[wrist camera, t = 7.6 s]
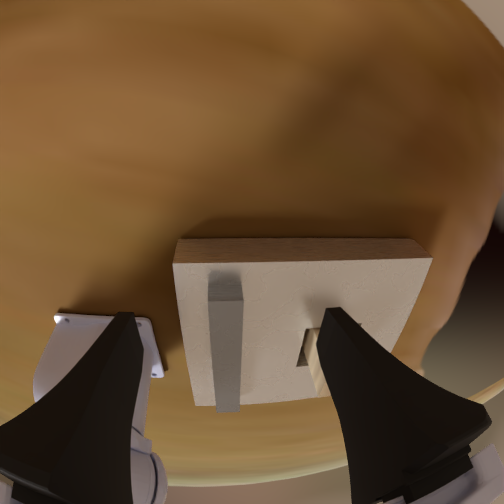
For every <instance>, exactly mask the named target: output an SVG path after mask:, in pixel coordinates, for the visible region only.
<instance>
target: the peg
mask: <svg viewBox="0 0 504 504" xmlns="http://www.w3.org/2000/svg"><path fill="white" fill-rule="evenodd" d="M319 331H320V327H319V328H308V329H305V334H304V338H303V342H302V346H303V349H304V352H305V356H306V359H307V362H308V365H309V369H310V372H311V375H312V378H313V381H314V385H315V388H316V391H317V395H318V398H320V397H326V396H331V393H330V391H329V388H328V385H327V383H326V380H325V377H324V374H323V371H322V369H321V366H320V361H319V357H318V352H317V348H316V341H317V338H318V334H319Z"/></svg>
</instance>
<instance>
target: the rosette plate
mask: <svg viewBox="0 0 504 504" xmlns="http://www.w3.org/2000/svg"><path fill="white" fill-rule="evenodd" d="M432 259H433V257H432V256H431V255H429V254H428V253H427V252H426V251H425V250H424V249H423V248H422V247H421V246H420V245H419V244H418V243H417V242H416V241H415V240H413V239H394V238H214V239H178V242H177V246H176V250H175V255H174V259H173V272H174V280H175V288H176V296H177V303H178V310H179V317H180V324H181V330H182V336H183V343H184V348H185V354H186V360H187V365H188V370H189V376H190V381H191V386H192V391H193V395H194V400H195V405H196V406H216V411H217V413H218V412H240V405H244V404H259V403H271V402H281V401H291V400H299V399H306V398H313V397H318V395H317V391H316V388H315V385H314V381H313V378H312V375H311V372H310V369H309V365H308V362H307V359H306V356H305V352H304V349H303V346H302V342H303V338H304V334H305V329H308V328H319V327H321V324H322V320H323V317H324V313H325V309H326V308H332V307H341V308H342V309H343V310H344V311H345V312H346V313H347V314H349V315H350V316H351V317H352V318H353V319H354V320H355V321H356V322H357V323H358V324H359V325H360V326H361V327H362V328H363V329H364V330H365V331H366V332H367V333H368V334H369V335H370V336H371V337H373V338H374V339H375V340H376V341H377V342H378V343H379V344H380V345H381V346H383V347H384V348H385V349H386V350H387V351H388V352H390V353H391V351H392V349H393V347H394V345H395V343H396V341H397V339H398V337H399V335H400V333H401V331H402V329H403V327H404V325H405V323H406V321H407V319H408V317H409V315H410V313H411V310H412V308H413V306H414V304H415V301H416V299H417V297H418V295H419V292H420V290H421V287H422V285H423V283H424V280H425V278H426V275H427V272H428V270H429V267H430V265H431V262H432Z"/></svg>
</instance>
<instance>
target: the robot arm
mask: <svg viewBox="0 0 504 504" xmlns="http://www.w3.org/2000/svg"><path fill="white" fill-rule="evenodd" d="M54 319H55V321H56V323H57V324H56V326H55V328H54V330H53V333H52V335H51V337H50V339H49V341H48V343H47V345H46V347H45V349H44V352H43V354H42V356H41V358H40V361H39V363H38V365H37V367H36V370H35V374H34V380H33V394H34V399H35V402H36V403H35V404H33V405H32V406H31V407H29V408H28V409H27V410H25V411H24V412H22V413H21V414H19V415H18V416H16V417H15V418H13V419H12V420H10V421H8V422H7V423H5V424H3V425H1V426H0V473H1V474H2V475H4V476H6V477H7V478H9V479H11V480H12V481H14V483H13V487H12V486H10V485H8V484H6V483H4V482H3V481H1V480H0V504H164V503H165V499H166V495H167V488H168V481H167V474H166V470H165V467H164V465H163V463H162V461H161V459H160V457H159V456H158V455H157V454H156V453H154V452H151V448H152V441H151V440H149V439H147V438H145V437H144V431H145V421H146V412H147V404H148V396H149V388H150V381H151V377H156V378H162V377H164V369H163V366H162V362H161V359H160V355H159V351H158V348H157V344H156V340H155V336H154V332H153V328H152V324H151V321H150V320H149V319H148V318H143V317H135V316H134V312H118V313H117V314H116V315H115V317H114V316H95V315H79V314H65V313H56V314H55V316H54ZM137 322H139V323H141V324H139V323H137ZM316 348H317V352H318V357H319V361H320V366H321V369H322V371H323V374H324V377H325V380H326V383H327V385H328V388H329V391H330V393H331V396H332V399H333V402H334V404H335V407H336V410H337V413H338V416H339V419H340V424H341V428H342V433H343V437H344V442H345V448H346V453H347V459H348V466H349V474H350V484H351V499H352V504H377V503H379V502H382V501H383V504H491V503H492V502H493V501H494V500H495V499H496V498H497V497H499V496H500V495H501V494H502V493H503V492H504V466H503V464H502V462H501V459H500V457H499V455H498V453H497V451H496V449H495V447H494V444H493V443H491V444H490V445H489V446H487V447H486V448H484V449H483V450H481V451H480V452H478V453H477V454H475V455H474V456H472V457H471V458H469V456H468V453H469V452H471V448H470V446H469V444H470V443H471V442H472V441H474V440H475V439H476V438H477V437H478V436H480V435H481V434H482V433H483V432H484V431H485V430H486V429H488V428H489V426H490V425H491V423H492V421H491V418H490V417H489V415H488V413H487V411H486V409H485V408H484V406H483V405H482V404H479V403H476V402H474V401H471V400H468V399H465V398H462V397H460V396H458V395H455V394H453V393H451V392H449V391H447V390H445V389H443V388H441V387H439V386H437V385H436V384H434V383H432V382H430V381H429V380H427V379H425V378H424V377H422V376H421V375H419V374H417V373H416V372H415V371H413V370H412V369H410V368H409V367H407V366H406V365H405V364H403V363H402V362H401V361H399V360H398V359H397V358H396V357H394V356H393V355H392V354H391V353H390V352H388V351H387V350H386V349H385V348H384V347H383V346H381V345H380V344H379V343H378V342H377V341H376V340H375V339H374V338H373V337H371V336H370V335H369V334H368V333H367V332H366V331H365V330H364V329H363V328H362V327H361V326H360V325H359V324H358V323H357V322H356V321H355V320H354V319H353V318H352V317H351V316H350V315H349V314H347V313H346V312H345V311H344V310H343V309H342V308H341V307H332V308H326V309H325V313H324V317H323V320H322V324H321V327H320V331H319V334H318V338H317V341H316Z"/></svg>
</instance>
